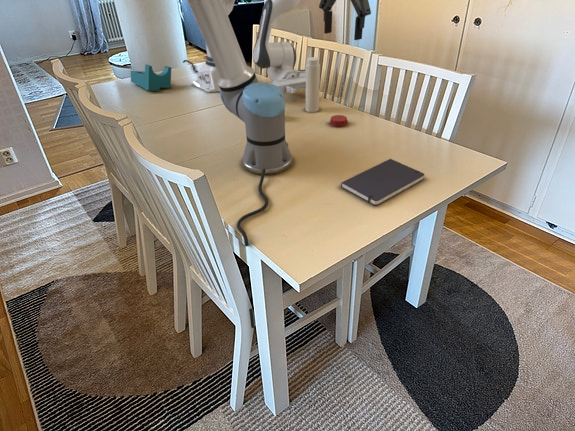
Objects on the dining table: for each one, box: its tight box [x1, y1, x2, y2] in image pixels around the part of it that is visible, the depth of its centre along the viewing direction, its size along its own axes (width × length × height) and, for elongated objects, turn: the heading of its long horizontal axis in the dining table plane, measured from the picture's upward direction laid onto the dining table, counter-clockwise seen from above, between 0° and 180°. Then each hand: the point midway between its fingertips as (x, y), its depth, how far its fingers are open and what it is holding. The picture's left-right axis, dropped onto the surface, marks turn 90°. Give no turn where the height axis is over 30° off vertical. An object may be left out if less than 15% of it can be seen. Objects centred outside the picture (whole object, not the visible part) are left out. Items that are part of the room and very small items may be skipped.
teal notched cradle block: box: [130, 64, 172, 92], centre depth 188 cm, size 18×11×10 cm, turn 43°
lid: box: [330, 114, 348, 128], centre depth 149 cm, size 6×6×2 cm
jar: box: [304, 56, 321, 113], centre depth 156 cm, size 5×5×20 cm
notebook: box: [340, 158, 425, 206], centre depth 114 cm, size 13×2×21 cm
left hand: (305, 89), depth 162 cm, fingers open, 8 cm apart
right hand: (342, 36), depth 132 cm, fingers open, 13 cm apart
